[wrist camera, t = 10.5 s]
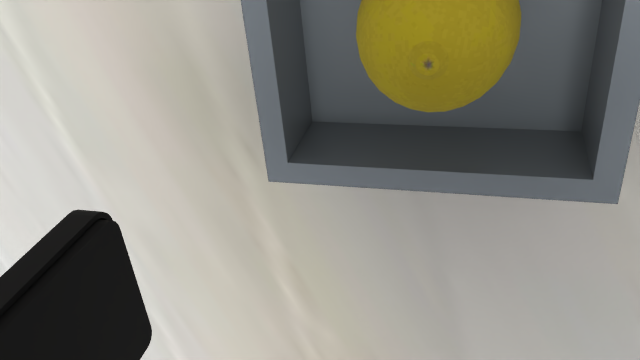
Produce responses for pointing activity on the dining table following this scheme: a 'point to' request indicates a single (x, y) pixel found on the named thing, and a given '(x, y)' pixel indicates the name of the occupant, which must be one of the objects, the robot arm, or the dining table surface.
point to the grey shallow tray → (458, 124)
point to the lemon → (437, 48)
